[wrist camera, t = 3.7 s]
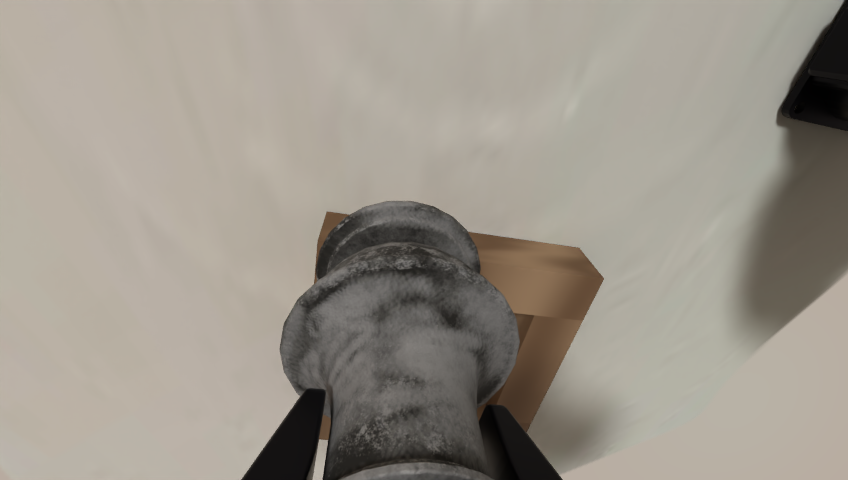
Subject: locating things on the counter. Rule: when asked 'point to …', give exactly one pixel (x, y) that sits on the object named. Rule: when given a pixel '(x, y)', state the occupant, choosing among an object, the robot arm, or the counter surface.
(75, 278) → the counter surface
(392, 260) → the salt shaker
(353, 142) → the counter surface
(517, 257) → the well block
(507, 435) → the robot arm
